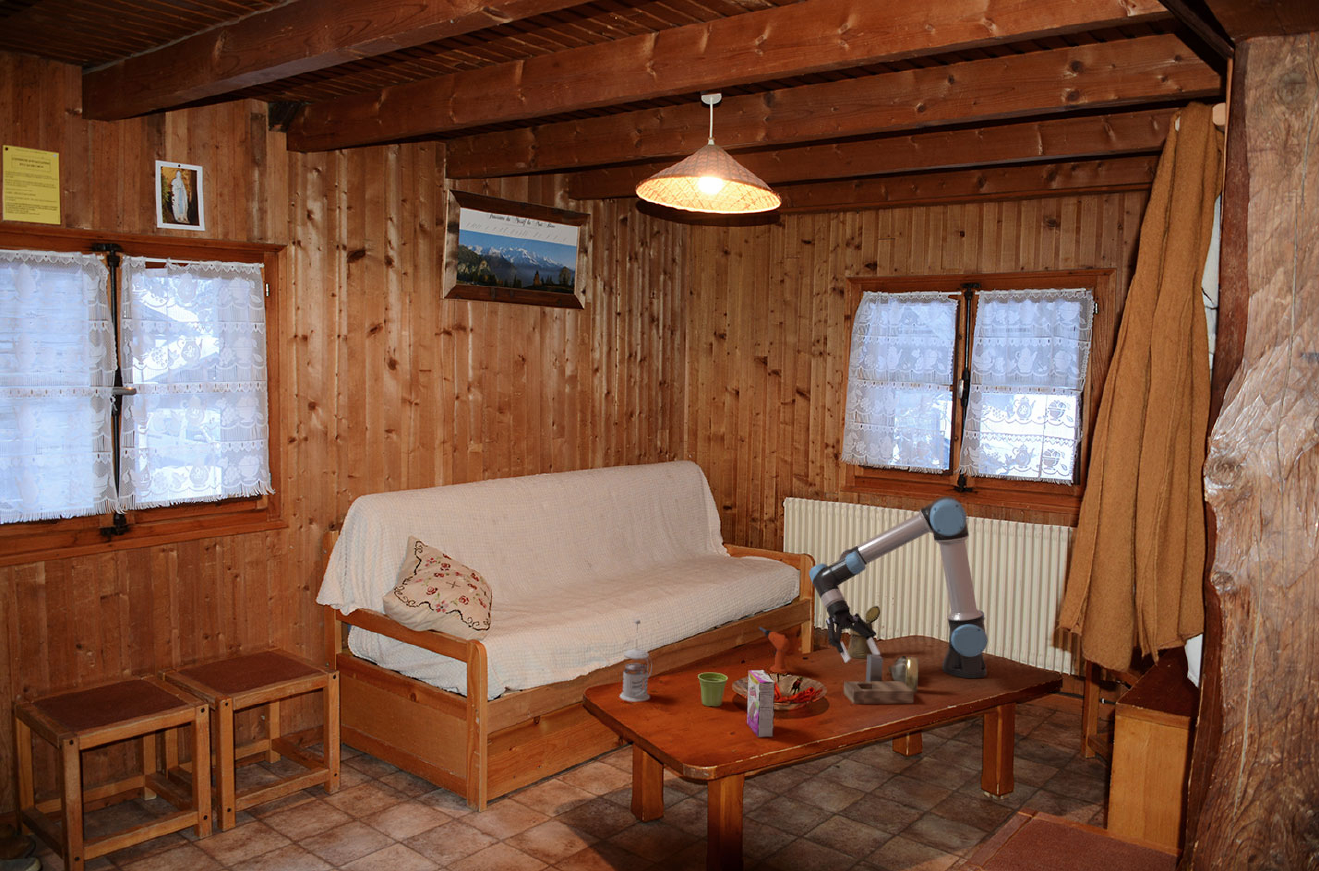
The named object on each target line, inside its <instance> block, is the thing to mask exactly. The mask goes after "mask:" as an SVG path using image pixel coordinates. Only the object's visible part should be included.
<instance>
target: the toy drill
mask: <svg viewBox="0 0 1319 871" xmlns="http://www.w3.org/2000/svg"><path fill="white" fill-rule="evenodd" d="M758 629H759V631H762V632H763V633H764V635H765V637H767V638H768V640H769V642H770V643H771V644H772V645H773V646H774V648H775V649H776V650H775V652H774V653H773V654H774V665H773V666H770V668H769V671H770V670H771V671H772V672H780V673H788V672H789V671H788V669H787V668H786V664H785V661H786V660H785V659H786V652H787V651H789V649H790V648H791V647H790V646H791V643H790V640H789V639H788V638H787V637H786V636H785V635H784V634H781V633H778V632H777V631H772V630H769V629H767V630H766V629H765V628H763V627H762V626H759V627H758ZM772 672H771V673H772Z"/></svg>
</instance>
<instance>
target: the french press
mask: <svg viewBox="0 0 1319 871" xmlns="http://www.w3.org/2000/svg"><path fill="white" fill-rule="evenodd" d="M634 624H635V625H636V632H638V627H639V625H640V624H641V620H640V619H635V620H634ZM635 645H636V646H635V648H632V649H628V650H626V651H625V652H623V655H624V657H625V658H627V659H631V660H635V661H637V660H642V661H644V662H646V663H647V665H646V664H642V663H637V662H634V663H633V662H632V663H631V662H630V663H628V664H626V665H624V669H623V676H622V678H623V679H622V680H623V681H622V692H621V693H620V694H619V698H620V699H622V700H623V701H627V702H634V703H635V702H645V701H647V700H649V699H650V697H651V696H650V694H649V693H648V679H649V677H650V676H651V673H652V671H653V661H652V658H650V654H649V652H647V651H645V649H644V650H643V649H639V648H638V640H636V643H635ZM649 660H650V664H651V666H650V672H649V666H648V665H650V664H649ZM631 672H633V673H631ZM648 673H649V674H648Z"/></svg>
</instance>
